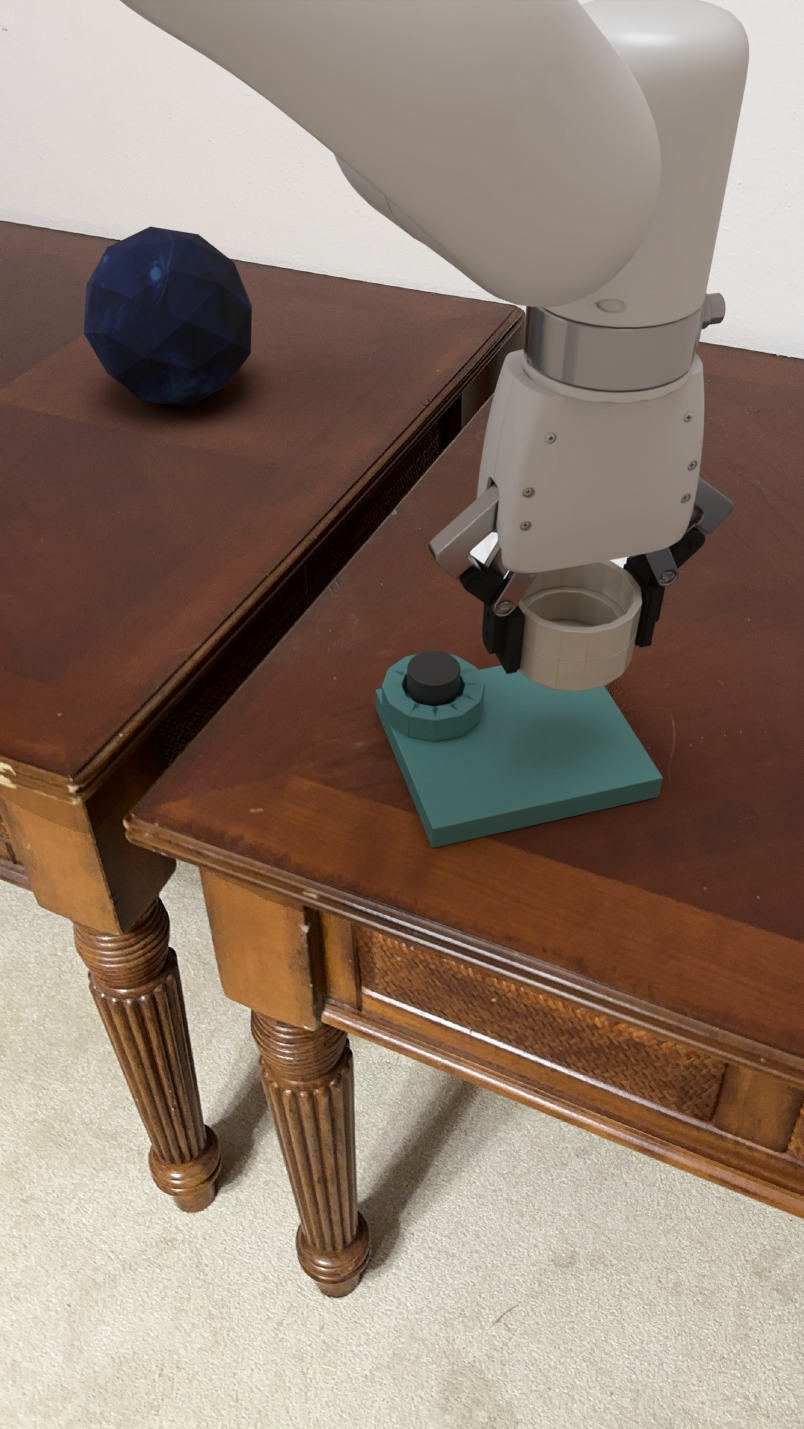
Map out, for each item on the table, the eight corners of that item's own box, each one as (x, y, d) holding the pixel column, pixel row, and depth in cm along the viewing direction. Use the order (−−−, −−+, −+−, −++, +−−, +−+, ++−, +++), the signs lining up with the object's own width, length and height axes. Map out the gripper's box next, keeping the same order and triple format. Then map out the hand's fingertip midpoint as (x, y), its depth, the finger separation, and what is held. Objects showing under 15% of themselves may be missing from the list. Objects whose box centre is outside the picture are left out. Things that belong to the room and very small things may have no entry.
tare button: (415, 711, 66) (416, 689, 64) (400, 677, 68) (400, 655, 67) (466, 701, 66) (467, 679, 65) (450, 667, 68) (451, 646, 67)
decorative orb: (145, 406, 88) (208, 219, 85) (24, 354, 95) (79, 180, 92) (252, 445, 101) (310, 284, 98) (138, 398, 107) (190, 245, 104)
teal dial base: (431, 849, 62) (432, 807, 60) (372, 703, 71) (371, 662, 68) (658, 797, 65) (668, 755, 62) (575, 663, 74) (581, 622, 71)
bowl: (531, 708, 58) (538, 642, 55) (487, 629, 63) (491, 564, 60) (650, 683, 60) (664, 618, 56) (599, 608, 64) (608, 543, 61)
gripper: (744, 278, 53) (680, 578, 65) (396, 322, 49) (398, 631, 62) (831, 344, 48) (743, 658, 60) (448, 399, 44) (439, 720, 56)
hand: (568, 642), depth 61 cm, fingers closed on bowl, 7 cm apart
